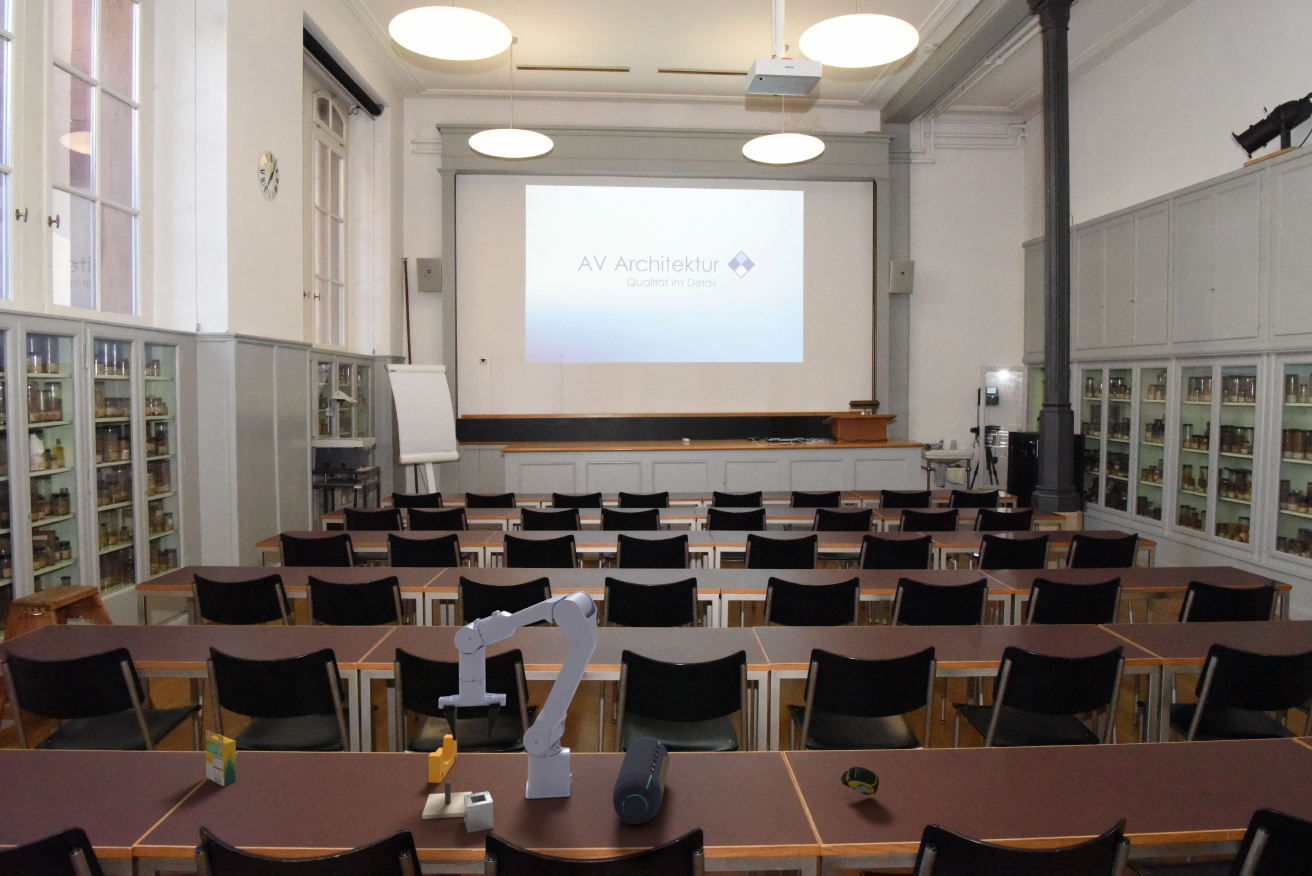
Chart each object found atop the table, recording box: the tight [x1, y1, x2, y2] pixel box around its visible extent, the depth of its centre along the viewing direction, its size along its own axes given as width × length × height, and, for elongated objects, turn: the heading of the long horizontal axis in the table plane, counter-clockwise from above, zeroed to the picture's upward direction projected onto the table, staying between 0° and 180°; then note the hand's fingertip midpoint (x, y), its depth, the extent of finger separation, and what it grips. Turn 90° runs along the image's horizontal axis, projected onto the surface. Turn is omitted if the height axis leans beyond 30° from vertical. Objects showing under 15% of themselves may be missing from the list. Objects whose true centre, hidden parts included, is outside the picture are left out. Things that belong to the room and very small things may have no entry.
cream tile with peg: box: [421, 781, 473, 820], centre depth 163 cm, size 9×9×5 cm
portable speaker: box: [612, 736, 670, 825], centre depth 166 cm, size 25×10×10 cm, turn 174°
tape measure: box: [840, 766, 880, 796], centre depth 166 cm, size 7×7×4 cm
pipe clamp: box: [428, 734, 458, 784], centre depth 179 cm, size 12×4×6 cm, turn 177°
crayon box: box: [205, 729, 237, 787], centre depth 174 cm, size 7×3×12 cm, turn 58°
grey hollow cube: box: [463, 790, 494, 834], centre depth 156 cm, size 5×5×5 cm
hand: (472, 737), depth 174 cm, fingers open, 7 cm apart
